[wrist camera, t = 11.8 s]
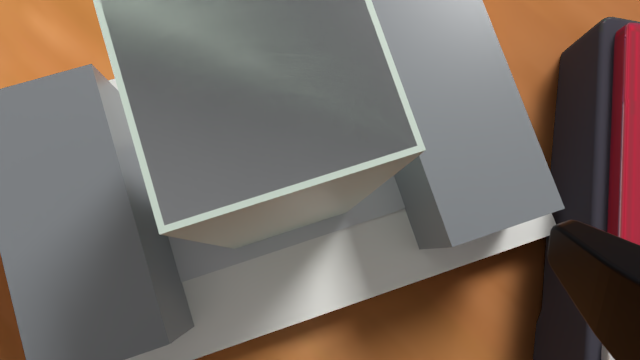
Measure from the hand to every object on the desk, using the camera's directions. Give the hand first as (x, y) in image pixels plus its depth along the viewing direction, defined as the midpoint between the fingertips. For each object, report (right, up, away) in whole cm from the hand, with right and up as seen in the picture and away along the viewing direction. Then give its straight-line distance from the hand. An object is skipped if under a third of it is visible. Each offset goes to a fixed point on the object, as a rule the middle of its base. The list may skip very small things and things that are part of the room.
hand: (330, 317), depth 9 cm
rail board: (-2, +3, +9) cm, 10 cm away
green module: (-2, +3, +8) cm, 9 cm away
